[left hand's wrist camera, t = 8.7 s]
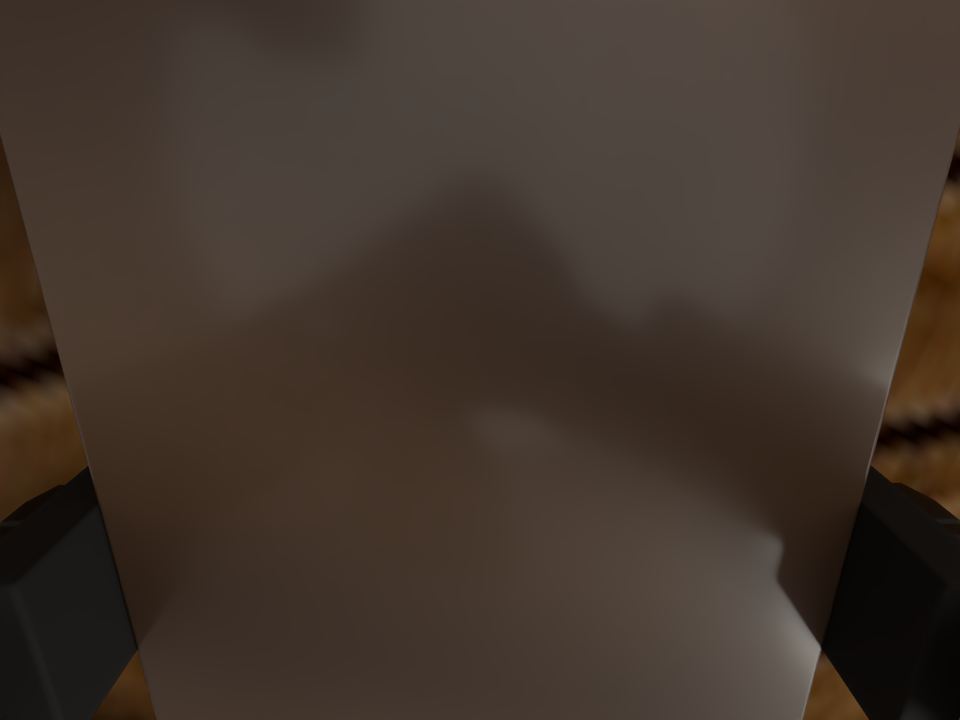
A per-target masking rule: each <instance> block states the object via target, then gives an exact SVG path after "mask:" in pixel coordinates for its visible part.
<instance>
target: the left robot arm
mask: <svg viewBox="0 0 960 720" xmlns="http://www.w3.org/2000/svg"><path fill="white" fill-rule="evenodd" d="M959 521H960V520H959V519H957V518H956V517H955V516H954V515H952V514H951V513H950V512H949V511H947V510H946V509H945V508H944V507H942V506H941V505H940V504H939V503H937V502H936V501H935V500H933V499H931V498H929V497H927V496H925V495H924V494H922V493H920V492H918V491H916V490H914V489H912V488H910V487H908V486H906V485H904V484H902V483H891V482H890V481H889V480H888V479H886V478H885V477H884V476H883V475H882V474H880V473H879V472H878V471H877V470H876V469H875V468H873V467H872V466H871V465H870V469H869V473H868V477H867V481H866V484H865V488H864V492H863V496H862V499H861V503H860V507H859V511H858V514H857V518H856V522H855V526H854V530H853V533H852V537H851V541H850V545H849V548H848V552H847V556H846V560H845V563H844V567H843V571H842V575H841V578H840V582H839V586H838V590H837V594H836V597H835V601H834V605H833V609H832V612H831V616H830V620H829V624H828V627H827V631H826V635H825V639H824V642H823V646H822V650H823V651H824V653H825V654H826V656H827V657H828V659H829V660H830V662H831V663H832V665H833V666H834V668H835V669H836V671H837V672H838V674H839V675H840V677H841V678H842V680H843V681H844V683H845V684H846V686H847V687H848V689H849V690H850V692H851V693H852V695H853V696H854V698H855V699H856V701H857V702H858V704H859V705H860V707H861V708H862V710H863V711H864V712H865V714H866V715H867V717H868V718H869V720H959V718H960V522H959ZM136 650H137V646H136V642H135V638H134V635H133V631H132V627H131V623H130V620H129V616H128V612H127V608H126V605H125V601H124V597H123V593H122V590H121V586H120V582H119V578H118V575H117V571H116V567H115V563H114V560H113V556H112V552H111V548H110V545H109V541H108V537H107V533H106V530H105V526H104V522H103V518H102V515H101V511H100V507H99V504H98V500H97V496H96V492H95V489H94V485H93V481H92V477H91V474H90V470H89V466H87V467H86V468H85V469H84V470H83V471H81V472H80V473H79V474H78V475H77V476H76V477H74V478H73V479H72V480H71V481H70V482H68V483H67V484H66V485H58V486H56V487H54V488H52V489H51V490H49V491H47V492H45V493H43V494H41V495H39V496H37V497H35V498H33V499H31V500H29V501H27V502H25V503H24V504H23V505H22V506H21V507H19V508H18V509H17V510H16V511H14V512H13V513H12V514H11V515H9V516H8V517H7V518H6V519H4V520H3V521H2V522H1V525H0V720H90V719H91V718H92V716H93V715H94V713H95V712H96V710H97V709H98V707H99V706H100V704H101V703H102V701H103V700H104V698H105V697H106V695H107V694H108V692H109V691H110V689H111V688H112V686H113V685H114V683H115V682H116V680H117V679H118V677H119V676H120V674H121V673H122V671H123V670H124V668H125V667H126V665H127V664H128V662H129V661H130V659H131V658H132V656H133V655H134V653H135V652H136Z"/></svg>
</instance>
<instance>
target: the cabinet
mask: <svg viewBox="0 0 960 720" xmlns="http://www.w3.org/2000/svg"><path fill="white" fill-rule="evenodd" d="M959 130H960V0H0V137H1V140H2V144H3V148H4V152H5V155H6V159H7V163H8V166H9V170H10V174H11V178H12V181H13V185H14V189H15V193H16V196H17V200H18V204H19V208H20V211H21V215H22V219H23V223H24V226H25V230H26V234H27V238H28V241H29V245H30V249H31V253H32V256H33V260H34V264H35V268H36V271H37V275H38V279H39V283H40V286H41V290H42V294H43V298H44V301H45V305H46V309H47V313H48V316H49V320H50V324H51V328H52V331H53V335H54V339H55V342H56V346H57V350H58V354H59V357H60V361H61V365H62V369H63V372H64V376H65V380H66V384H67V387H68V391H69V395H70V399H71V402H72V406H73V410H74V414H75V417H76V421H77V425H78V429H79V432H80V436H81V440H82V444H83V447H84V451H85V455H86V459H87V462H88V466H89V470H90V474H91V477H92V481H93V485H94V489H95V492H96V496H97V500H98V504H99V507H100V511H101V515H102V518H103V522H104V526H105V530H106V533H107V537H108V541H109V545H110V548H111V552H112V556H113V560H114V563H115V567H116V571H117V575H118V578H119V582H120V586H121V590H122V593H123V597H124V601H125V605H126V608H127V612H128V616H129V620H130V623H131V627H132V631H133V635H134V638H135V642H136V646H137V650H138V653H139V657H140V661H141V665H142V668H143V672H144V676H145V680H146V683H147V687H148V691H149V694H150V698H151V702H152V706H153V709H154V713H155V717H156V720H803V718H804V714H805V710H806V707H807V703H808V699H809V695H810V691H811V688H812V684H813V680H814V676H815V673H816V669H817V665H818V661H819V658H820V654H821V650H822V646H823V642H824V639H825V635H826V631H827V627H828V624H829V620H830V616H831V612H832V609H833V605H834V601H835V597H836V594H837V590H838V586H839V582H840V578H841V575H842V571H843V567H844V563H845V560H846V556H847V552H848V548H849V545H850V541H851V537H852V533H853V530H854V526H855V522H856V518H857V514H858V511H859V507H860V503H861V499H862V496H863V492H864V488H865V484H866V481H867V477H868V473H869V469H870V465H871V462H872V458H873V454H874V450H875V447H876V443H877V439H878V435H879V432H880V428H881V424H882V420H883V417H884V413H885V409H886V405H887V401H888V398H889V394H890V390H891V386H892V383H893V379H894V375H895V371H896V368H897V364H898V360H899V356H900V353H901V349H902V345H903V341H904V337H905V334H906V330H907V326H908V322H909V319H910V315H911V311H912V307H913V304H914V300H915V296H916V292H917V289H918V285H919V281H920V277H921V273H922V270H923V266H924V262H925V258H926V255H927V251H928V247H929V243H930V240H931V236H932V232H933V228H934V224H935V221H936V217H937V213H938V209H939V206H940V202H941V198H942V194H943V191H944V187H945V183H946V179H947V176H948V172H949V168H950V164H951V160H952V157H953V153H954V149H955V145H956V142H957V138H958V134H959Z"/></svg>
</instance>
